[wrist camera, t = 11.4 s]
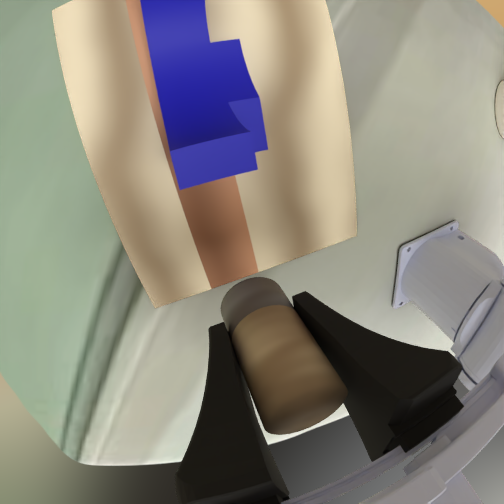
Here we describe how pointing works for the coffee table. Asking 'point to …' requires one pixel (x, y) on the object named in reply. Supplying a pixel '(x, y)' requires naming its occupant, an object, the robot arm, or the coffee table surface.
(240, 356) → the cylindrical peg
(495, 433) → the robot arm
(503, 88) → the bottle
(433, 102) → the coffee table surface
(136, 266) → the plywood sheet
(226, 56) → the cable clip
